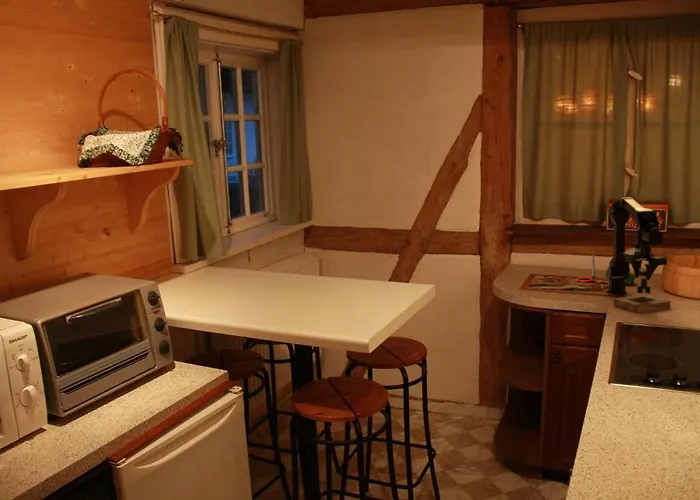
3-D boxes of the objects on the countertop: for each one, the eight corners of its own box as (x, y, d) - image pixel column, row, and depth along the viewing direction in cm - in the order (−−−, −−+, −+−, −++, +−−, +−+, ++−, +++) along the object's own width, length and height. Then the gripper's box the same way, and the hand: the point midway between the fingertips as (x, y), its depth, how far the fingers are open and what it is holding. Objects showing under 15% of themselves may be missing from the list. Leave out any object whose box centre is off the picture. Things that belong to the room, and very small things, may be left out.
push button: (633, 294, 270) (634, 269, 269) (632, 291, 275) (632, 267, 274) (651, 294, 268) (652, 270, 267) (649, 291, 273) (650, 267, 272)
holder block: (613, 305, 276) (614, 298, 275) (643, 300, 282) (643, 293, 281) (640, 313, 263) (640, 306, 263) (670, 308, 269) (670, 300, 269)
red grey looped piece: (576, 283, 320) (596, 283, 317) (575, 257, 318) (595, 256, 316) (575, 279, 328) (595, 279, 325) (574, 254, 326) (594, 253, 323)
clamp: (632, 293, 313) (641, 277, 309) (620, 291, 312) (629, 275, 307) (621, 278, 323) (630, 263, 319) (610, 276, 322) (619, 261, 318)
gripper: (611, 240, 273) (610, 277, 276) (647, 246, 256) (645, 285, 259) (631, 237, 277) (630, 273, 280) (668, 243, 260) (667, 282, 263)
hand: (642, 278), depth 271 cm, fingers closed on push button, 5 cm apart
